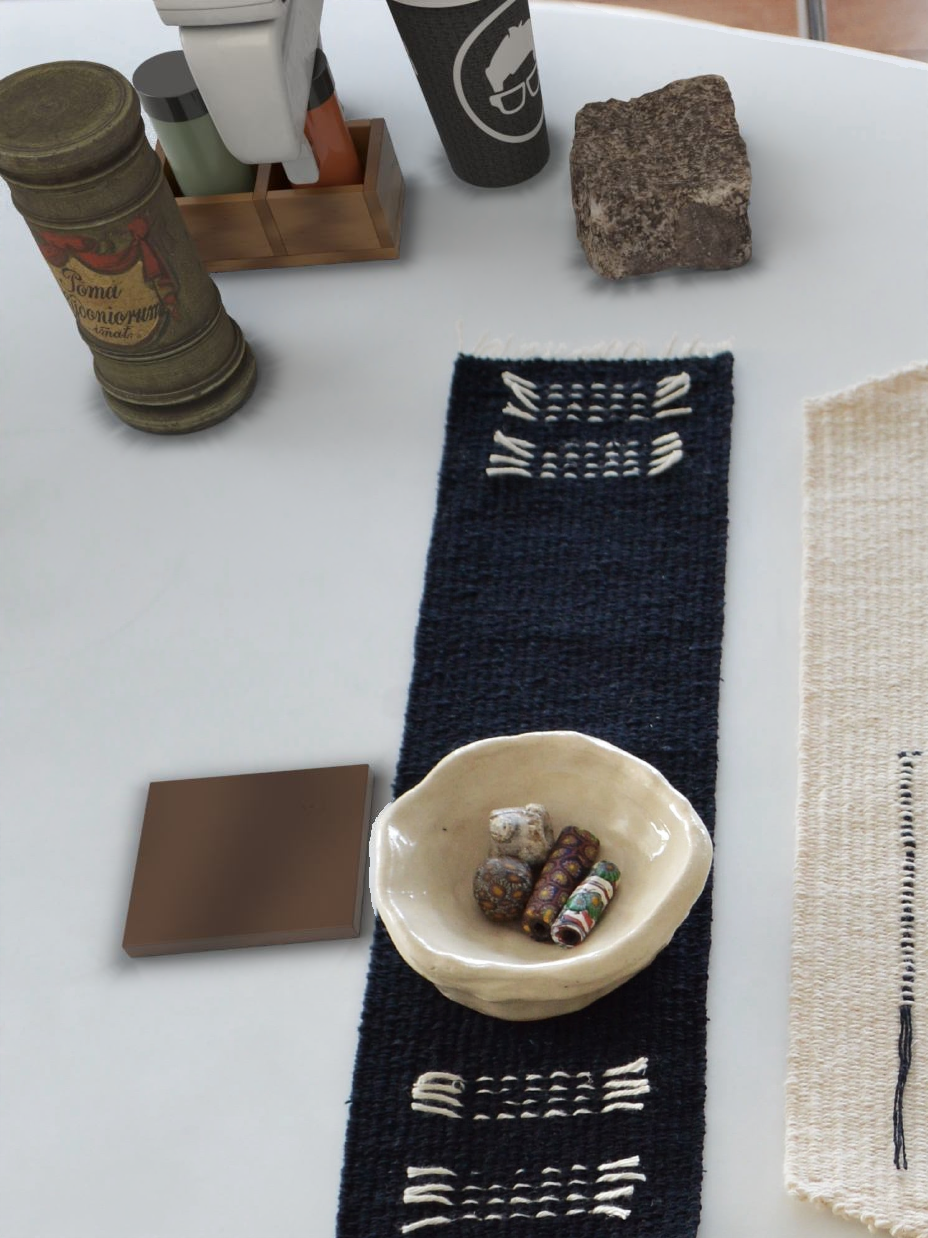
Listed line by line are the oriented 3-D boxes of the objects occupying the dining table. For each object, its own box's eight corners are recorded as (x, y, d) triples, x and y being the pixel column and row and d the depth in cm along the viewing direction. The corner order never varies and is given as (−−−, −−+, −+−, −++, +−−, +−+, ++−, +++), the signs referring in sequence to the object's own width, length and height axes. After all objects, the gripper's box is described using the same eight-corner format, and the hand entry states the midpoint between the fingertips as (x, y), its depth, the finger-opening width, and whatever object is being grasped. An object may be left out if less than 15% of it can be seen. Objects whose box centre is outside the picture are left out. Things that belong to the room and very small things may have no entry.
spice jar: (298, 241, 116) (241, 92, 108) (305, 194, 119) (250, 45, 110) (374, 235, 117) (323, 86, 108) (380, 189, 119) (330, 39, 110)
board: (129, 957, 90) (120, 946, 89) (157, 793, 95) (149, 781, 94) (359, 937, 90) (352, 926, 89) (374, 775, 95) (368, 763, 94)
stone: (756, 182, 111) (764, 269, 116) (726, 61, 118) (734, 148, 123) (570, 201, 110) (585, 289, 115) (550, 77, 117) (566, 165, 122)
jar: (192, 249, 116) (126, 100, 108) (201, 201, 118) (137, 52, 110) (268, 243, 116) (208, 94, 108) (275, 196, 119) (217, 47, 110)
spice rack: (172, 275, 116) (141, 208, 112) (187, 201, 120) (157, 133, 116) (398, 258, 117) (375, 191, 112) (406, 185, 120) (384, 117, 116)
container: (130, 333, 113) (-10, 52, 98) (276, 335, 113) (158, 53, 98) (88, 436, 109) (-66, 158, 93) (240, 438, 108) (111, 160, 93)
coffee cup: (557, 100, 125) (504, -131, 112) (586, 184, 120) (535, -47, 107) (416, 129, 123) (345, -102, 111) (440, 216, 119) (369, -15, 106)
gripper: (194, -190, 106) (277, 41, 118) (145, 16, 96) (241, 247, 108) (305, -197, 107) (377, 34, 119) (269, 7, 96) (351, 239, 108)
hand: (312, 137), depth 113 cm, fingers open, 6 cm apart
